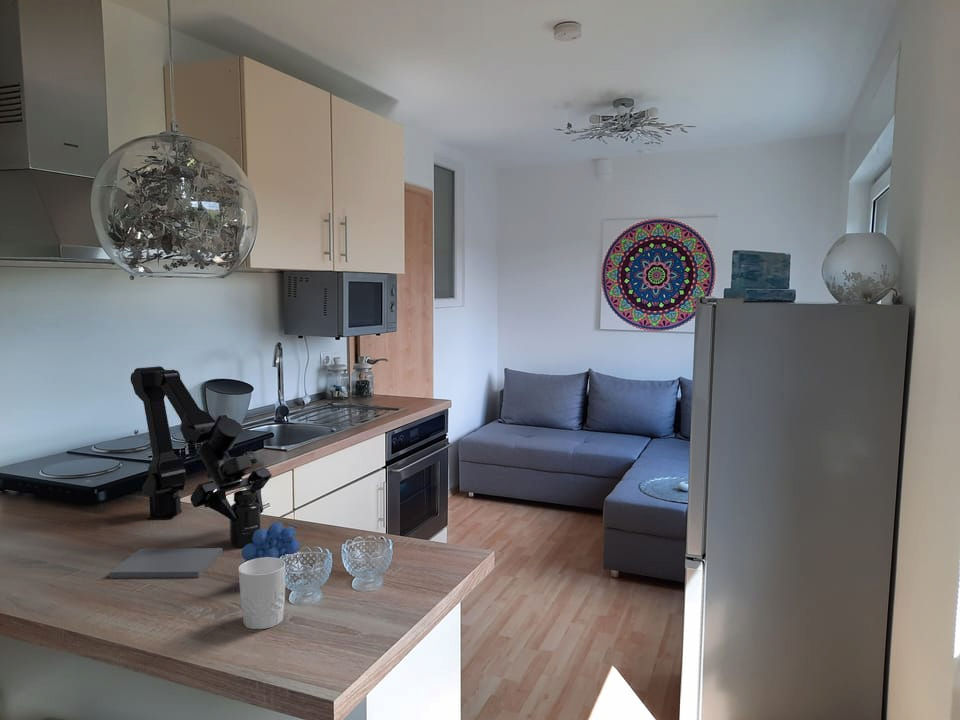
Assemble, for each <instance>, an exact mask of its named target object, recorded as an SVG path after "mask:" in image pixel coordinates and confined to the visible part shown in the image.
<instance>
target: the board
mask: <svg viewBox="0 0 960 720" xmlns="http://www.w3.org/2000/svg"><path fill="white" fill-rule="evenodd" d="M223 551H224V550H223V548H222V547H208V548H207V547H197V548H196V547H187V548H185V547H184V548H183V547H182V548H179V547H177V548H176V547H175V548H165V547H163V548H162V547H161V548H160V547H158V548H156V547H155V548H153V547H151V548H139V550H137V551H136V552H135V553H133V554H132V555H131V556H130V557H128V558H127V559H125V560H124V561H123V562H121V563H120V564H119V565H117V566H115V568H113V569H112V570H111V571H109V578H110V579H130V578H131V579H135V578H136V579H137V578H138V579H140V578H141V579H143V578H144V579H145V578H146V579H147V578H148V579H150V578H151V579H153V578H155V579H156V578H158V579H159V578H160V579H161V578H162V579H163V578H164V579H165V578H168V579H169V578H170V579H171V578H173V579H175V578H176V579H177V578H182V579H183V578H184V579H186V578H188V579H189V578H200V577H201V575H203V574H204V573H205V572H206V571H207V570H208V569H209V568H210V567H211V565H213V564H214V562H216V560H217V559H219V558H220V557H221V555H223Z"/></svg>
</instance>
